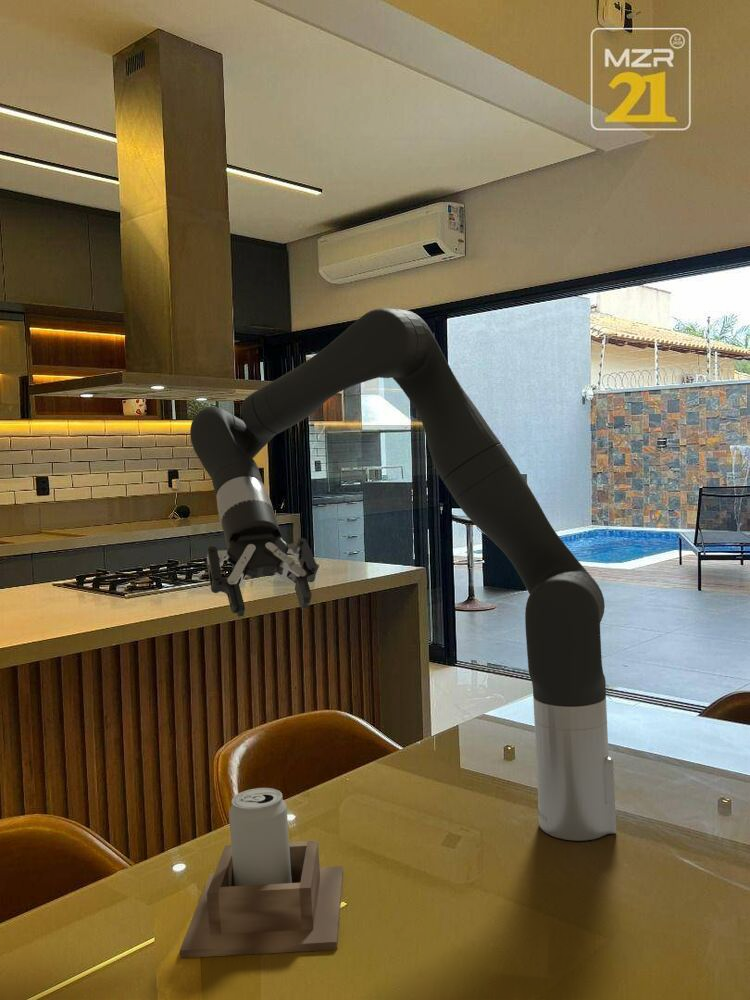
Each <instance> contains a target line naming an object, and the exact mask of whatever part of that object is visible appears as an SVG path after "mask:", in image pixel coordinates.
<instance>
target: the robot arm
mask: <svg viewBox="0 0 750 1000" xmlns="http://www.w3.org/2000/svg"><path fill="white" fill-rule="evenodd" d="M425 321H426V320H424V319H423V318H422V317H421V316H419V315H418V314H417V313H414V312H413V311H411V310H407V309H399V308H391V307H390V308H389V307H383V308H381V307H380V308H376V309H373V310H370V311H368V312H366V313H365V314H363V315H362V316H360V317H359V318H358V319H357V320H355V321H354V322H353V323H351V324H350V325H349V326H348V327H347V328H346V329H345V330H344V331H342V332H341V334H339V335H338V336H337V337H336V338H335V339H334V340H331V342H330V343H329V344H328V345H326V346H325V347H324V348H322V349H321V350H320V351H319V352H317V353H316V354H315V355H313V356H311V358H309V359H308V360H306V361H305V362H303V363H301V364H300V365H298V366H297V367H295V368H293V369H291V370H290V371H288V372H286V373H285V374H283V375H282V376H280V377H278V378H276V379H274V380H273V381H271V382H269V383H268V384H266V385H265V386H263V387H261V388H259V389H257V390H255V391H254V392H252V393H251V394H248V396H247V397H245V399H244V400H242V403H241V406H240V416H241V418H239V417H237V416H235V415H234V414H232V413H230V412H229V411H227V410H225V409H223V408H222V407H218V406H207V407H205V408H202V409H201V410H200V411H198V412H197V413H196V414H195V416H194V417H193V419H192V421H191V425H190V432H189V433H190V434H189V435H190V437H189V438H190V442H191V445H192V447H193V450H194V452H195V455H196V456H197V458H198V460H199V461H200V462H201V465H202V466H203V468H204V470H205V471H206V473H207V474H208V476H209V477H210V479H211V481H212V487H213V489H214V491H213V492H214V495H215V498H216V505H217V511H218V518H219V519H218V520H219V523H220V524H221V527H222V532H223V535H224V539H225V544H226V547H227V549H226V550H225V549H224V550H223V549H222V550H218V548H217V547H216V546H208V548H207V556H206V567H207V572H208V578H209V579H208V580H209V584H210V586H209V587H210V591H211V592H212V593H214V594H218V593H220V592H221V593H224V594H226V595H227V599H228V603H229V607H230V608H229V609H230V611H231V612H232V613H233V614H236V616H237V617H238V618H240V617H244V614H245V612H246V611H245V608H246V607H245V602H244V599H243V594H242V591H241V587H240V586H241V585H242V584H243V582H244V581H245V578H246V577H250V578H251V579H257V578H260V577H273V576H275V575H277V577H279V578H281V580H283V581H288V582H290V583H291V584H292V585H294V591H295V593H296V597H297V600H298V603H299V607H300V609H301V610H306V609H307V608H308V605H310V604H311V599H312V595H313V594H312V592H311V588H310V585H309V583H313V582H314V581H315V580H316V576H317V572H318V570H319V567H318V564H317V563H316V559H315V558H314V555H313V553H312V550H311V548H310V545H309V544H308V541H307V539H306V538H304V537H300V538H299V539H298V540H297V542H293V543H287V542H286V541H284V539H283V537H282V533H281V529H280V527H279V523H278V520H277V517H276V514H275V511H274V508H273V504H272V501H271V499H270V496H269V493H268V491H267V490H266V487H265V485H264V482H263V478H262V476H261V472H260V470H259V466H258V464H257V462H256V461H255V460H254V458H255V457H256V456H257V455H258V453H259V452H260V451H261V450H262V449H263V448H264V447H265V446H266V445H267V444H268V443H269V442H270V441H271V440H272V439H273V438H274V437H275V436H276V435H279V434H280V433H282V432H284V431H286V430H288V429H289V428H291V427H293V426H295V425H297V424H298V423H301V422H302V421H303V420H305V419H306V418H308V417H310V416H311V415H313V413H314V412H316V411H317V410H319V408H320V407H322V405H324V404H325V403H326V402H327V401H328V400H329V399H332V397H334V396H335V395H338V394H339V393H341V392H343V391H345V390H347V389H349V388H351V387H353V386H356V385H359V384H362V383H365V382H367V381H372V380H376V379H379V378H381V379H390V378H391V379H393V380H394V381H395V382H396V383H397V385H398V387H400V389H401V390H402V391H403V393H404V394H405V396H406V397H407V399H408V400H409V401H410V403H411V404H412V405H413V407H414V409H415V410H416V412H417V414H418V416H419V419H420V421H421V423H422V426H423V430H424V434H425V437H426V442H427V446H428V450H429V453H430V457H431V460H432V463H433V465H434V468H435V469H436V472H437V474H438V476H439V478H440V479H441V481H442V482H443V484H444V486H445V487H446V488H447V490H448V492H449V494H451V496H452V498H453V499H454V501H455V503H456V504H457V505H458V507H460V509H461V511H462V512H463V513H464V515H466V516H467V517H468V519H469V520H470V521H471V522H472V523H473V524H474V525H475V526H476V527H477V528H478V529H479V530H480V531H481V532H482V533H483V534H484V535H485V536H486V538H489V539H490V541H491V542H493V543H494V544H495V545H496V546H497V547H498V548H499V549H500V551H501V552H503V554H504V555H505V556H506V558H508V560H509V561H510V562H511V564H512V565H513V568H514V569H515V570H516V573H517V574H518V576H519V578H520V579H521V580H522V583H523V585H524V586H525V589H526V590H527V592H528V594H529V596H528V598H527V600H526V605H525V613H524V619H525V620H524V621H525V626H524V627H525V637H526V638H525V640H526V654H527V655H526V656H527V665H528V673H529V678H530V681H531V685H532V695H533V701H532V702H533V717H534V718H533V719H534V736H535V737H534V738H535V741H534V743H535V759H536V760H535V761H536V763H535V764H536V780H537V781H536V782H537V783H536V784H537V800H538V804H537V805H538V806H537V808H538V809H537V810H538V821H539V822H538V824H539V827H540V829H541V830H542V831H543V832H544V833H545V834H548V835H549V836H552V837H554V838H557V839H561V840H568V841H581V842H582V841H590V840H596V839H599V838H600V839H601V838H602V837H604V836H606V835H609V834H617V821H616V820H617V816H616V797H615V796H616V795H615V793H616V791H615V772H614V771H615V770H614V769H615V768H614V767H615V766H614V759H613V758H612V757H611V755H610V754H609V735H608V713H607V686H606V685H607V682H606V676H605V674H604V670H603V669H604V668H603V662H602V661H603V660H602V657H603V656H602V642H601V623H602V620H603V617H604V615H605V607H606V606H605V598H604V595H603V592H602V589H601V588H600V586H599V585H598V582H596V581H595V579H594V577H592V575H591V574H590V573H589V572H588V571H587V569H586V568H585V567H584V566H583V564H582V563H581V562H580V561H579V560H578V559H577V558H576V556H575V555H574V554H573V552H572V551H571V550H570V548H569V547H567V545H566V544H565V542H563V540H562V539H561V537H560V536H559V535H558V534H557V532H556V531H555V529H554V528H553V526H552V525H551V523H550V521H549V519H548V518H547V516H546V515H545V512H544V511H543V508H542V507H541V506H540V504H539V502H538V500H537V498H536V496H535V495H534V493H533V492H532V490H531V488H530V487H529V485H528V484H527V482H526V480H525V479H524V477H523V476H522V474H521V472H520V470H519V469H518V466H517V465H516V464H515V461H513V459H512V458H511V456H510V455H509V453H508V451H507V450H506V448H505V447H504V445H503V444H502V442H501V441H500V440H499V438H498V437H497V435H496V434H495V433H494V431H493V430H492V429H491V427H490V426H489V424H488V422H487V421H486V419H485V417H484V416H482V414H481V413H480V410H478V408H477V407H476V405H475V403H473V401H472V400H471V398H470V397H469V395H468V394H467V393H466V391H465V390H464V389H463V387H462V385H461V384H460V383H459V380H458V379H457V377H456V375H455V374H454V372H453V371H452V368H451V366H450V365H449V363H448V361H447V359H446V357H445V355H444V353H443V351H442V349H441V347H440V345H439V343H438V341H437V339H436V337H435V336H434V333H433V332H432V330H431V328H430V326H428V324H427V322H425ZM288 554H290V555H292V556H293V557H294V559H295V560H296V561H297V560H298V562H299V565H300V566H299V565H298V564H297V563H296V562H295V560H294V559H293V558H292V557H291V556H289V555H288ZM224 561H227V562H228V563H230V564H231V565H232V566H233V567H234V568H233V570H232V572H230V575H229V576H228V578H226V577H223V574H222V569H221V567H222V566H223V565H224ZM282 566H283V567H282Z"/></svg>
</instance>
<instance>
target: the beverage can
mask: <svg viewBox="0 0 750 1000" xmlns="http://www.w3.org/2000/svg"><path fill="white" fill-rule="evenodd" d="M287 806H288V805H287V803H286V802H285V800H284V799H283V793H282V792H281V791H280V790H279V789H275V788H272V787H271V788H270V787H256V788H251V789H247V790H244V791H241V792H238V793H236V794H235V795H234V796H233V797H232V798H231V807H230V808H229V811H228V819H229V821H228V822H229V833H230V834H229V835H230V845H231V849H232V862H233V876H234V886H248V885H266V884H284V883H292V877H291V863H290V849H289V842H290V837H289V823H288V822H289V821H288V808H287Z"/></svg>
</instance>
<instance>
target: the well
mask: <svg viewBox="0 0 750 1000" xmlns="http://www.w3.org/2000/svg"><path fill="white" fill-rule="evenodd" d="M289 849H290V863H291V877H292V883H284V884H266V885H248V886H234V876H233V862H232V849H231V844H229V845H224V848H223V850H222V852H221V855H220V859H219V861H218V864H217V866H216V869H215V871H214V872H210V873H209V875H208V878H207V881H206V883H205V886H204V888H203V890H202V894H201V896H200V899H199V901H198V902H197V903H198V904H197V906H196V909H195V912H194V914H193V916H192V919H191V920H190V921H191V922H190V925H189V926H188V929H187V932H186V934H185V937H184V939H183V941H182V945H181V947H180V950H179V953H180V955H179V957H180V959H185V958H186V959H187V958H189V959H190V958H204V957H205V958H206V957H222V956H223V957H224V956H238V955H239V956H241V955H242V956H243V955H255V954H256V955H258V954H259V955H261V954H276V953H277V954H279V953H280V954H281V953H294V952H295V953H296V952H298V953H299V952H314V951H330V950H331V951H332V950H334V951H335V950H338V943H339V928H340V920H341V919H340V918H341V917H340V915H341V904H342V895H343V893H342V892H343V881H344V880H343V878H344V866H343V865H338V866H337V865H335V866H320V855H319V854H320V852H319V840H303V841H302V840H299V841H289Z"/></svg>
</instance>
